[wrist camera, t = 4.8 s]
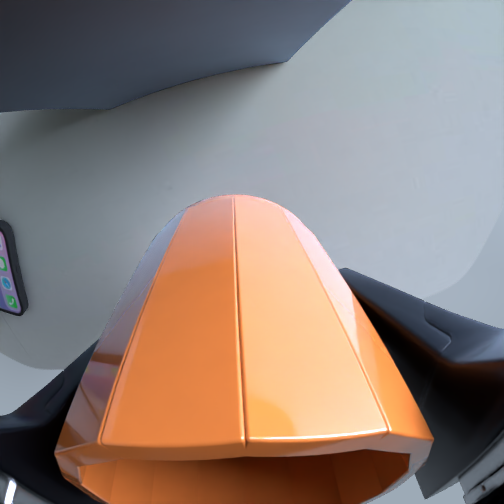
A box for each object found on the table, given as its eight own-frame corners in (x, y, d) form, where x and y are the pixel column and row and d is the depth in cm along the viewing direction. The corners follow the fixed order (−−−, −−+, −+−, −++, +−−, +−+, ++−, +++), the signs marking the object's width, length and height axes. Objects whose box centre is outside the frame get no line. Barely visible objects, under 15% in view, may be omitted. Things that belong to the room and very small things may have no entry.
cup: (327, 324, 12) (394, 498, 5) (181, 354, 12) (162, 529, 5) (309, 175, 9) (501, 347, 2) (122, 221, 9) (-20, 415, 2)
